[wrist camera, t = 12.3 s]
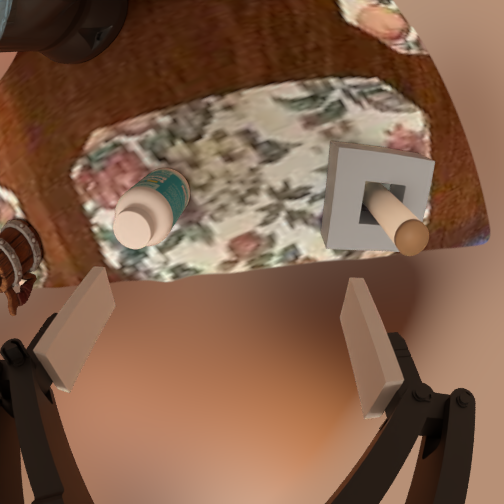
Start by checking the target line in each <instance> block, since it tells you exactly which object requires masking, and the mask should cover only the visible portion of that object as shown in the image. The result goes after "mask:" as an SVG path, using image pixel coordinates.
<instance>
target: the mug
mask: <svg viewBox="0 0 504 504" xmlns="http://www.w3.org/2000/svg"><path fill="white" fill-rule="evenodd" d="M41 247H42V246H41V242H40V239H39V237H38V235H37V233H36V231H35V230H34V229H33V228H32V227H29V224H28V223H26V222H25V221H23V220H19V219H17V220H11V221H10V220H9V221H8V222H7V223H6V224H5V225H4V226H3V228H2V229H1V233H0V293H3V292H4V293H5V294H6V296H7V299H8V308H9V312H10V315H12V316H15V315H16V310H17V307H18V306H22V305H23V304H25V303H26V301H27V300H28V298H29V296H30V293H31V291H32V288H33V284H34V282H35V281H36V279H37V278H36V275H34V274H31V273H30V272H32V271H36V268H37V267H38V266H39V263H40V260H41V257H42V249H41ZM21 279H23V280H27V281H25V282H24V284H23V285H21V286H20V292H19V293H15V291H14V290H13V288H12V287H14V286H15V285H16V286H18V285H19V282H20V281H21Z"/></svg>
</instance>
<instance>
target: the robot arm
mask: <svg viewBox="0 0 504 504" xmlns="http://www.w3.org/2000/svg"><path fill="white" fill-rule="evenodd" d="M127 7H128V0H0V52H17V51H39V52H40V53H42V54H43V55H45V56H47V57H48V58H50V59H51V60H53V61H55V62H58V63H64V64H77V63H82V62H85V61H88V60H90V59H92V58H94V57H95V56H97V55H98V54H100V53H101V52H102V51H103V50H105V49H106V48H107V47H108V46H109V45H110V44H111V42H112V41H113V40H114V39H115V37H116V36H117V34H118V33H119V31H120V29H121V27H122V25H123V23H124V21H125V17H126V14H127ZM115 306H116V305H115V302H114V298H113V295H112V292H111V288H110V284H109V281H108V277H107V273H106V270H105V267H93V268H92V269H91V271H90V272H89V273H88V274H87V276H86V277H85V278H84V279H83V281H82V282H81V283H80V285H79V286H78V287H77V288H76V290H75V291H74V293H73V294H72V295H71V296H70V298H69V299H68V301H67V302H66V303H65V304H64V306H63V307H62V309H61V310H60V311H59V313H54V314H53V315H51V316H50V317H49V318H47V320H46V321H45V323H44V324H43V327H41V328H40V330H39V332H38V333H37V334H36V336H35V337H34V339H33V340H32V341H31V343H30V345H29V346H28V347H27V349H25V347H24V345H23V344H22V342H21V341H20V340H19V339H15V338H14V339H10V340H8V341H6V342H5V343H4V345H3V346H2V347H1V350H0V353H1V355H2V356H3V358H4V359H5V360H0V504H24V497H23V488H22V477H21V458H20V448H21V452H22V456H23V460H24V464H25V468H26V471H27V474H28V478H29V481H30V484H31V487H32V491H33V493H34V497H35V500H34V501H33V502H32V503H31V504H94V502H93V500H92V498H91V496H90V494H89V492H88V490H87V487H86V485H85V483H84V481H83V479H82V476H81V474H80V472H79V469H78V467H77V465H76V462H75V459H74V457H73V454H72V451H71V449H70V446H69V443H68V440H67V438H66V435H65V432H64V429H63V425H62V422H61V419H60V416H59V412H58V409H57V405H56V402H55V398H54V394H53V391H52V389H51V387H50V386H51V384H52V382H53V383H54V384H55V386H56V387H57V388H58V389H59V390H62V391H65V392H69V393H70V392H71V390H72V387H73V386H74V383H75V381H76V379H77V377H78V375H79V373H80V371H81V369H82V367H83V365H84V363H85V361H86V359H87V357H88V356H89V354H90V352H91V350H92V348H93V346H94V344H95V342H96V341H97V339H98V337H99V335H100V333H101V331H102V330H103V328H104V326H105V324H106V322H107V320H108V319H109V317H110V315H111V313H112V312H113V310H114V308H115ZM340 320H341V324H342V328H343V332H344V335H345V339H346V343H347V347H348V351H349V355H350V359H351V363H352V367H353V371H354V376H355V380H356V384H357V388H358V393H359V398H360V402H361V407H362V412H363V416H364V419H370V418H378V417H381V415H382V414H383V413H384V411H385V412H386V416H387V419H386V420H385V421H384V423H383V424H382V425H381V427H380V428H379V429H380V430H379V431H378V433H377V434H376V436H375V437H374V439H373V440H372V442H371V443H370V445H369V446H368V448H367V449H366V451H365V452H364V454H363V455H362V457H361V458H360V459H359V461H358V462H357V464H356V465H355V466H354V468H353V469H352V471H351V472H350V473H349V475H348V476H347V477H346V479H345V480H344V481H343V482H342V484H341V485H340V486H339V487H338V489H337V490H336V491H335V492H334V494H333V495H332V496H331V497H330V498H329V500H328V501H327V502H326V503H325V504H379V503H380V501H381V500H382V498H383V497H384V495H385V494H386V492H387V491H388V489H389V488H390V486H391V484H392V483H393V481H394V479H395V478H396V476H397V474H398V473H399V471H400V469H401V467H402V466H403V464H404V462H405V460H406V458H407V457H408V455H409V453H410V451H411V449H412V447H413V445H414V443H415V441H416V439H417V437H418V435H420V436H422V441H421V446H420V450H419V455H418V459H417V463H416V467H415V471H414V475H413V479H412V482H411V486H410V489H409V492H408V496H407V499H406V502H405V504H465V499H466V494H467V489H468V483H469V477H470V470H471V462H472V453H473V443H474V430H475V398H474V396H473V395H472V393H471V392H470V391H468V390H467V389H464V388H458V389H455V390H454V391H453V392H452V393H451V395H448V394H440V393H435V392H433V390H432V389H431V387H429V386H428V385H427V384H425V383H422V381H421V379H420V376H419V374H418V371H417V369H416V366H415V364H414V361H413V359H412V357H411V354H410V352H409V350H408V347H407V345H406V342H405V340H404V339H403V338H402V337H401V336H400V335H399V334H398V333H397V332H394V333H386V330H385V328H384V325H383V323H382V321H381V318H380V315H379V313H378V311H377V308H376V306H375V304H374V301H373V299H372V296H371V294H370V292H369V290H368V287H367V285H366V283H365V281H364V279H363V278H350V279H349V283H348V288H347V291H346V296H345V299H344V303H343V308H342V311H341V315H340Z"/></svg>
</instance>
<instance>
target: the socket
mask: <svg viewBox="0 0 504 504" xmlns="http://www.w3.org/2000/svg"><path fill="white" fill-rule="evenodd" d="M434 164H435V161H433V160H431V159H429V158H427V157H425V156H423V155H421V154H419V153H415V152H409V151H403V150H397V149H391V148H384V147H378V146H370V145H363V144H355V143H346V142H337V141H330V152H329V163H328V173H327V183H326V192H325V201H324V209H323V218H322V225H321V235H322V238H323V241H324V244H325V246H326V249H346V250H370V251H394V252H400V251H399V250H398V249H397V247H396V246H395V244H394V243H393V242H392V240H391V239H390V238H389V236H388V235H387V233H386V232H385V231H384V229H383V228H382V227H381V226H380V224H379V223H378V222H377V220H376V219H375V218H374V216H373V215H372V214H371V213H370V211H361V207H362V201H363V194H364V188H365V181H370V182H379V183H388V184H391V186H390V192H391V193H392V194H393V195H394V196H395V197H396V198H397V199H398V200H399V201H400V202H402V203H403V204H404V205H405V206H406V207H407V208H408V209H409V210H410V211H411V212H412V213H413V214H414V215H415V216H416V217H417V218H418V219H419V220H420V221H421V222H422V221H423V217H424V213H425V209H426V204H427V200H428V195H429V190H430V186H431V180H432V175H433V170H434Z"/></svg>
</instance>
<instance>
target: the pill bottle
mask: <svg viewBox="0 0 504 504" xmlns="http://www.w3.org/2000/svg"><path fill="white" fill-rule="evenodd" d="M189 198H190V189H189V185H188V183H187V181H186V179H185V178H184V177H183V176H182V175H181V174H180V173H179V172H177V171H175V170H173V169H169V168H160V169H157V170H154V171H153V172H151V173H150V174H148V175H147V176H146V177H144V178H143V179H142V180H141V181H139V182H138V183H137V184H136V185H134V186H133V187H132V188H131V189H129V190H128V191H127V192H126V193H124V194H123V195H122V196H121V198H120V199H119V201H118V203H117V205H116V209H115V220H114V224H113V229H114V233H115V236H116V238H117V239H118V240H119V242H120V243H121V244H123V245H124V246H126V247H128V248H131V249H140V248H143V247H145V246H152V245H155V244H158V243H160V242H161V241H162V240H164V239H165V238H166V236H167V235H168V234H169V232H170V231H171V229H172V227H173V226H174V224H175V223H176V221H177V220H178V218H179V217H180V215H181V214H182V212H183V211H184V209H185V208H186V206H187V204H188V202H189Z"/></svg>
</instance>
